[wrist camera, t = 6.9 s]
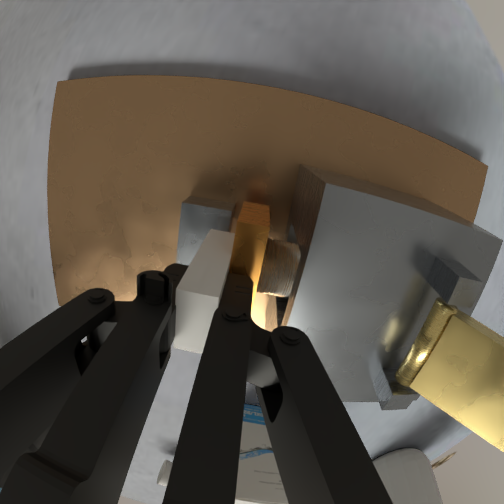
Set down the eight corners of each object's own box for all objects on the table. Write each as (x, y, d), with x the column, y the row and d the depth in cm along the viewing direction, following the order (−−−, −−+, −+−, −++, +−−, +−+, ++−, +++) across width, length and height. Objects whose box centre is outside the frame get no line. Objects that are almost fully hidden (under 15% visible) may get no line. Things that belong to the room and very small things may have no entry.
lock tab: (400, 367, 12) (390, 377, 12) (439, 294, 11) (433, 301, 10) (517, 447, 6) (513, 462, 5) (572, 382, 4) (575, 396, 4)
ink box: (234, 399, 27) (222, 498, 16) (307, 414, 28) (315, 505, 17) (215, 434, 30) (203, 514, 20) (278, 447, 31) (278, 523, 20)
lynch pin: (228, 292, 18) (218, 333, 14) (244, 200, 16) (237, 221, 12) (409, 320, 19) (432, 356, 15) (441, 246, 16) (475, 273, 12)
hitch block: (65, 299, 24) (-2, 370, 13) (66, 83, 16) (-42, 75, 6) (401, 361, 24) (439, 449, 14) (479, 164, 17) (581, 197, 6)
